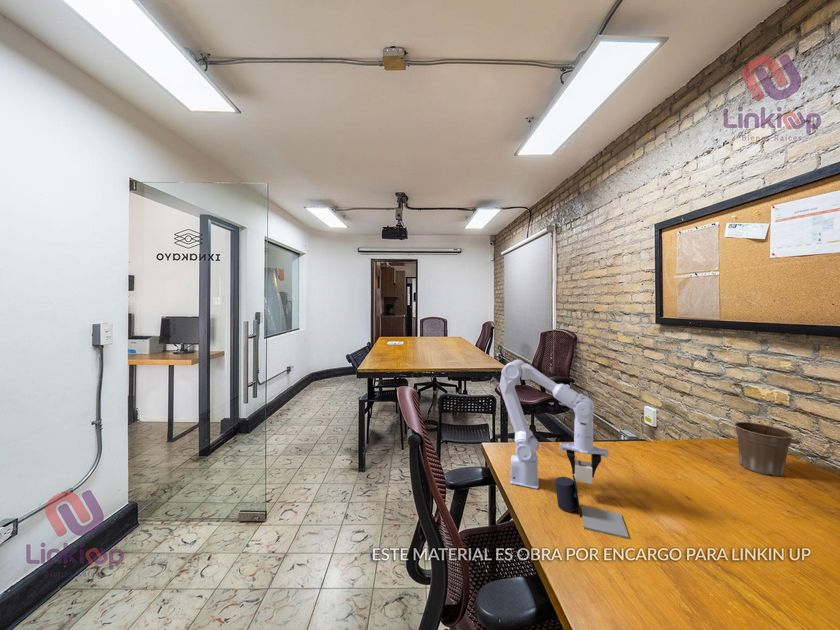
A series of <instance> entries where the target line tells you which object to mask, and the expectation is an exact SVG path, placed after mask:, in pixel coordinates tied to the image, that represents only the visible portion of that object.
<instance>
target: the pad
mask: <svg viewBox="0 0 840 630" xmlns="http://www.w3.org/2000/svg"><path fill="white" fill-rule="evenodd" d="M580 512H581V518H582V523H583V529H585V530H589V531H593V532H598V533H602V534H605V535H610V534H611V536H614V535H615V537H618V536H620V537H619V538H623V537H624V538H623V539H627V538H629V539H630V537H629V534H628V533H629V532H628V531H627V527H626V525H625V523H624V518H623V517H622V513H619V512H613V511H609V510H608V511H607V510H604V509H598V508H594V507H590V506H585V505H580ZM625 537H626V538H625Z"/></svg>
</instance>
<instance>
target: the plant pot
mask: <svg viewBox="0 0 840 630" xmlns="http://www.w3.org/2000/svg"><path fill="white" fill-rule="evenodd" d="M734 427H735V430H736V431H735V433H736V436H737V445H738V455H739V456H738V457H739V458H738V459H739V460H738V461H739V465H741V466H742V467H743V468H745V469H747V470H748V471H751V472H754V473H757V474H761V475H765V476H769V475H771V476H773V477H781V476H784V473H785V467H786V462H787V458H788V457H787V456H788V451H789V448H790V446H791V444H792V443H791V442H792V439H793V438H794V436H795V435H794V434H793V433H791V432H790V431H787V430H785V429H781V428H779V427H775V426H772V425H767V424H761V423H755V422H748V421H747V422H744V421H739V422H738V421H737V422H734Z"/></svg>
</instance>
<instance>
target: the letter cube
mask: <svg viewBox="0 0 840 630" xmlns="http://www.w3.org/2000/svg"><path fill="white" fill-rule="evenodd" d="M573 475H574V476H575V480H576V482H581V483H584V484H590V485H591V484H593V477H592V466H591V461H585V460H580V459H575V474H573Z"/></svg>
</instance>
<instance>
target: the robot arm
mask: <svg viewBox="0 0 840 630" xmlns="http://www.w3.org/2000/svg"><path fill="white" fill-rule="evenodd" d="M519 379H521V380H523V381H524V380H528V381H529V380H531V381H533V382H534V383H536V384H538V385H540V386H542V387H543V388H545V389H546V390H548V391H550V392H552V393H551V394H552V396H553V398H554V399H556V400H557V401H559V402H560V403H561V404H563V405H565V406H566V407H568V408H569V409H572V410H573V412H574V414H575V415H574V420H573V421H574V425H573V426H574V427H573V428H574V429H573V433H574V434H573V442H572V443H571V442H570V443H569V442H567V443H566V442H565V443H564V442H559V451H563V452H564V451H566V456H567V458H568V460H569V462H570V463H569V464H570V465H571V469H572V470H571V471H572V472H571V473H572V475H574V474H575V460H576V455H575V454H576V453H580V454H583V455H591V456H590V457H591V461H590V462H591V466H592V479H594V478H595V473H596V470H597V469H598V467H599V465H600V464H601V462H602V457H604V458H606V459H607V458H608V459H609V455H610V454H609V450H608V449H605V448H602V447H601V448H600V447H597V446H594V412H595V411H594V410H595V403H594V401H593V400H592V399H591V398H590V397H589V396H587V395H584V394H583V393H579V392H577V391H575V390H574V389H573V388H571V385H569V384H564V383H556V382H555V381H554V380H552V379H551V378H550V377H548V376H546V375H545V374H544V373H542V372H540V371H539V370H538V369H537V368H535V367H534V366H532V365H530V364H529V363H525V362H524V361H523V360H522V359H514V360H512V361H511V362H508V363H507V364H505V365H504V367H502V369H501V375H500V379H499V380H500V381H499V389H500V392H501V396H502V399H503V401H504V404H505V407H506V411H507V414H508V416H509V419H510V421H511V425H512V429H513V431H514V443H515V454H511V458H510V471H509V472H510V473H509V474H510V482H509V483H510V484H511V485H516V486H521V487H524V488H531V489H535V490H539V483H540V478H539V477H538V472H539V471H538V470H539V469H538V468H539V466H538V465H539V464H538V463H539V461H538V460H539V459H538V458H539V457H538V455H537V451H538V450H539V448H540V446H539V445H540V444H539V443H540V442H539V441H538V439H537V438H536V437H535V436H534V433H533V431H532V430H531V429H530V427H529V426H528V423H527V419H526V417H525V414H524V411H523V408H522V405H521V402H520V399H519V397H518V396H519V395H518V394H517V390H516V385H517V383H518V381H519Z"/></svg>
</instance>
